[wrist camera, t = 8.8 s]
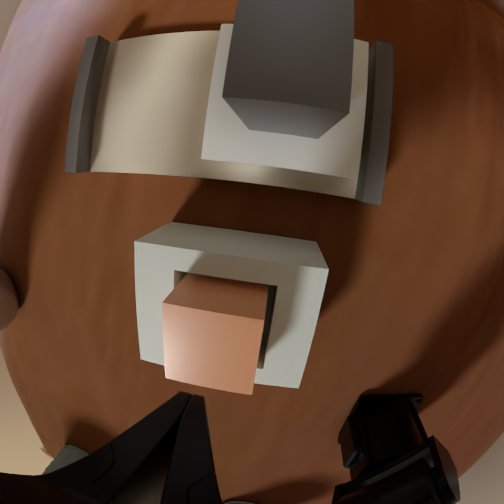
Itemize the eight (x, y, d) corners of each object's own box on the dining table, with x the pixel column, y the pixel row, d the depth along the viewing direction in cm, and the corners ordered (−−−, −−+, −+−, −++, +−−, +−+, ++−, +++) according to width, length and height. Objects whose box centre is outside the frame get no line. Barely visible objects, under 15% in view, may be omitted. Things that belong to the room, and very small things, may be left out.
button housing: (316, 241, 17) (329, 269, 12) (296, 339, 19) (298, 388, 14) (171, 221, 18) (134, 241, 13) (169, 319, 20) (141, 359, 15)
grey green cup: (121, 473, 29) (93, 531, 17) (106, 483, 32) (82, 531, 20) (63, 433, 28) (26, 487, 17) (57, 450, 31) (27, 494, 19)
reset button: (269, 280, 14) (264, 320, 11) (258, 346, 16) (251, 394, 12) (191, 268, 15) (162, 302, 11) (189, 334, 16) (165, 377, 12)
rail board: (377, 61, 14) (393, 44, 11) (364, 199, 16) (380, 205, 13) (109, 50, 15) (86, 38, 12) (91, 170, 17) (64, 172, 14)
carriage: (356, 59, 12) (415, -22, 4) (345, 178, 14) (416, 190, 6) (230, 42, 13) (184, -49, 5) (213, 160, 15) (138, 153, 7)
